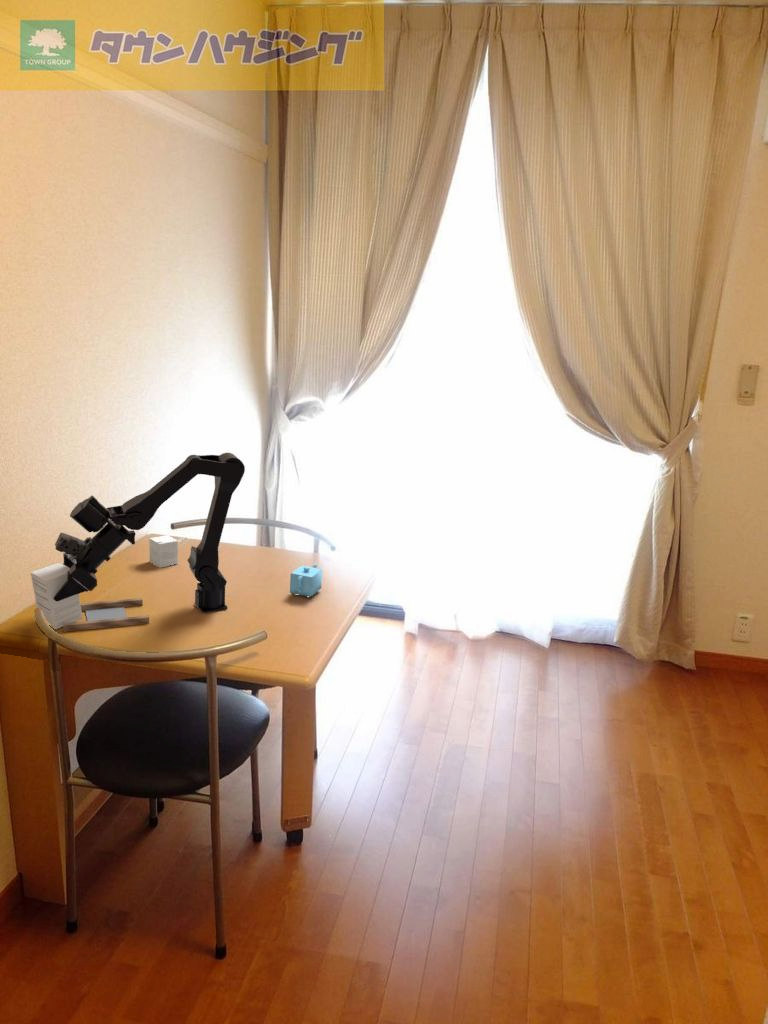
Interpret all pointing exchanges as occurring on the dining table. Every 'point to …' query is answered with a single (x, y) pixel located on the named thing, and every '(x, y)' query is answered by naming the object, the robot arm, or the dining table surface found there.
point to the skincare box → (163, 551)
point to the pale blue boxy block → (306, 580)
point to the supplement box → (45, 591)
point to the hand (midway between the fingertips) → (53, 592)
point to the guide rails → (107, 615)
